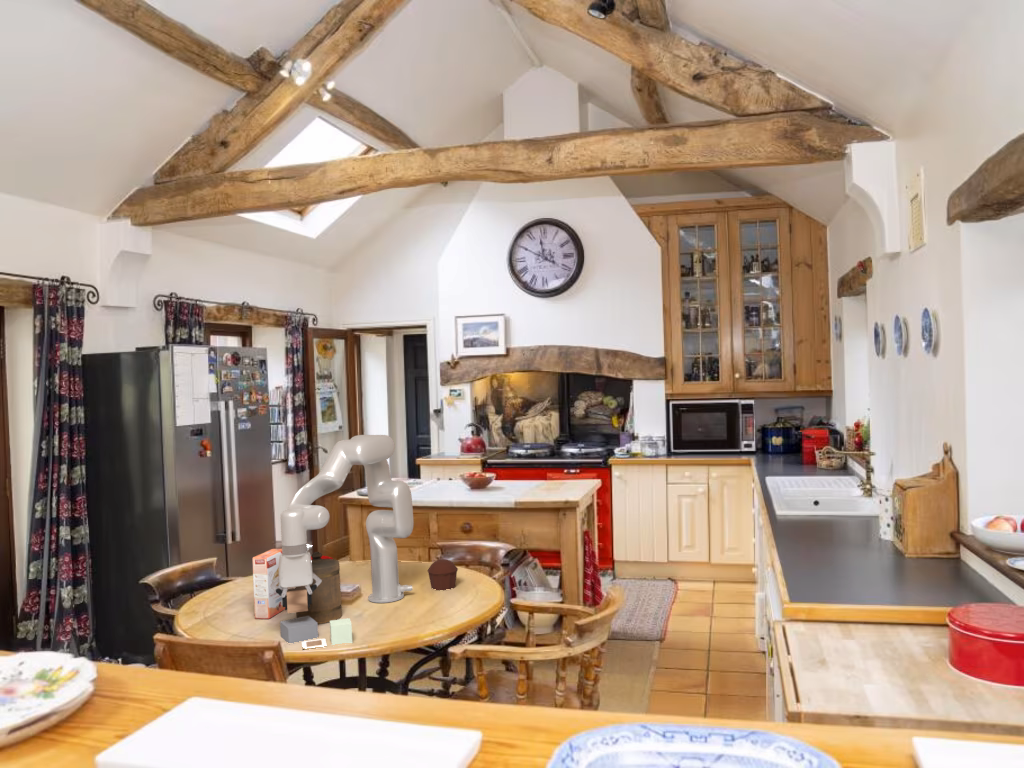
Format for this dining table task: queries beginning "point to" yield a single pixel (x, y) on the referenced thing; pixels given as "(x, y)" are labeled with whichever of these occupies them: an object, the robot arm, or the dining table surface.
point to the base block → (299, 629)
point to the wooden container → (324, 591)
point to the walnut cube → (297, 600)
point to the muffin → (442, 574)
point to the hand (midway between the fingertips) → (297, 607)
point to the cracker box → (266, 584)
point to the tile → (314, 643)
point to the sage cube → (341, 631)
